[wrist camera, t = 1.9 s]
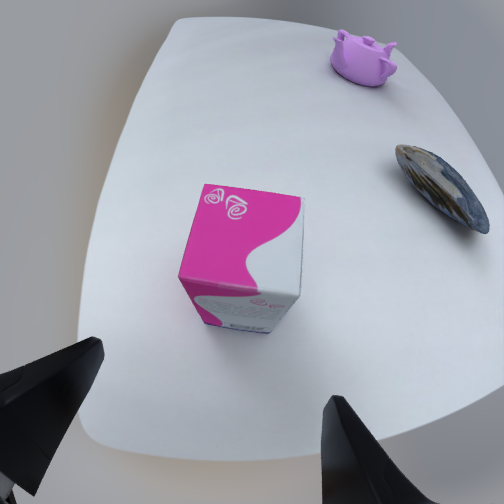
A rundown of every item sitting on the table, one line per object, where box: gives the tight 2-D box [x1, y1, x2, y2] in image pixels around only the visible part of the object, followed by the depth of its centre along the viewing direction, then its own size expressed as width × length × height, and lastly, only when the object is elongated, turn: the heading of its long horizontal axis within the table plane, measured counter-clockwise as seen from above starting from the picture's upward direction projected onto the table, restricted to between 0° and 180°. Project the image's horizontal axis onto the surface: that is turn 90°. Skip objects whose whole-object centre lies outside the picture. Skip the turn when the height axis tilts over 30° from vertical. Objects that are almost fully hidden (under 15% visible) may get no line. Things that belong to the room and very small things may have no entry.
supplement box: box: [178, 184, 305, 334], centre depth 18 cm, size 6×6×12 cm
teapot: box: [331, 30, 397, 87], centre depth 38 cm, size 12×14×9 cm
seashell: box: [395, 145, 490, 234], centre depth 28 cm, size 15×12×5 cm
